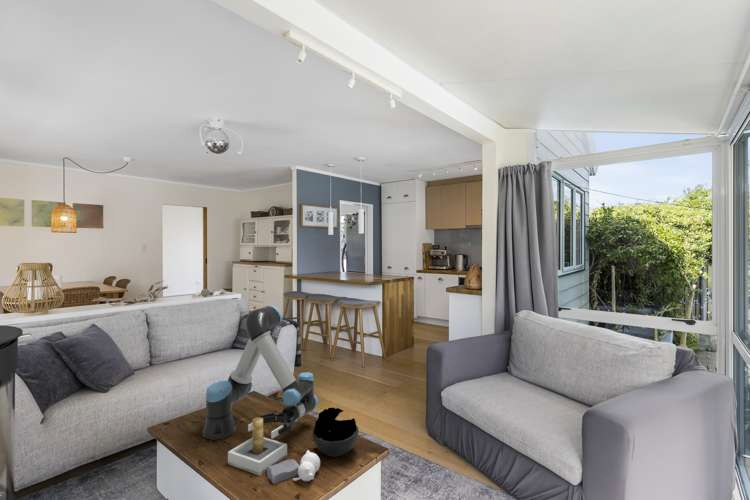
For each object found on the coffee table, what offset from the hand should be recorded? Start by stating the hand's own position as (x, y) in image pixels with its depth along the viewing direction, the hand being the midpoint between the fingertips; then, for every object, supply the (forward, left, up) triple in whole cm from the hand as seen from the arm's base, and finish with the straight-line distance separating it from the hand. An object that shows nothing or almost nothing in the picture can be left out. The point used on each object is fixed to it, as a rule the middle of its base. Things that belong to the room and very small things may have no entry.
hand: (259, 431), depth 158 cm
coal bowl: (+27, +18, -12) cm, 34 cm away
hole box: (0, -1, -12) cm, 12 cm away
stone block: (+16, -4, -12) cm, 20 cm away
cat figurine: (+26, -1, -12) cm, 28 cm away
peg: (0, -1, -11) cm, 11 cm away
